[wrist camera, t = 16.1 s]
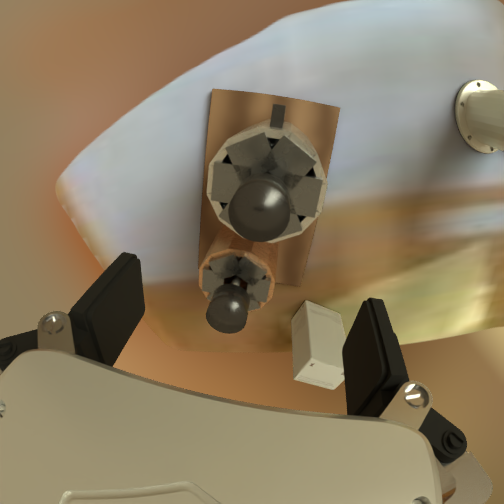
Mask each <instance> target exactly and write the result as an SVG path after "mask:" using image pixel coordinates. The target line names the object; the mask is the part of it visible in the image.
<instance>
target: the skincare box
mask: <svg viewBox="0 0 504 504" xmlns="http://www.w3.org/2000/svg"><path fill="white" fill-rule="evenodd" d="M291 327H292V351H293V379H294V380H298V381H301V382H305V383H309V384H313V385H316V386H320V387H324V388H328V389H332V390H334V389H335V388H336V387H337V386H338V385H339V384H340V383H341V382H342V381H343V380H345V378H344V368H343V358H342V348H343V345H344V343H345V341H346V336H345V332H344V327H343V323H342V319H341V315H340V313H337V312H335V311H332V310H330V309H327V308H325V307H322V306H320V305H317V304H315V303H312V302H310V301H307V300H305V302H304V303H303V304H302V306H301V307H300V309H299V310H298V311H297V313H296V314H295V315H294V317H293V318H292V320H291Z"/></svg>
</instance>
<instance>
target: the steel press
mask: <svg viewBox="0 0 504 504" xmlns="http://www.w3.org/2000/svg"><path fill="white" fill-rule="evenodd" d="M285 111H286V105H280V104H273V107H272V114H271V119H268V120H265V121H262V122H259V123H257V124H254V125H252V126H249V127H248V128H246V129H244V130H242V131H241V132H239V133H237V134H235V135H234V136H232V137H230V138H229V139H227V141H226V142H225V143H224V145H223V146H222V147H221V149H220V150H219V151H218V153H217V154H216V155H215V157H214V158H213V159H212V161H211V162H210V164H209V170H208V182H207V196H208V198H209V200H210V202H211V204H212V206H213V209H214V211H215V213H216V215H217V217H218V219H219V220H220V221H221V222H222V223H223V224H225V225H226V226H227V227H229V228H230V229H231V230H233V231H234V232H235V233H237V232H236V231H235V230H234V228H233V227H232V225H231V223H230V220H229V215H228V209H229V204H230V202H231V199H232V198H233V196H234V194H235V192H236V191H237V189H238V187H239V186H240V184H241V183H242V181H243V180H244V179H246V178H247V177H249V176H250V175H253V174H256V173H265V172H270V173H271V174H272V175H275V176H276V177H278V178H280V179H281V180H282V181H283V182H284V183H285V185H286V186H287V188H288V190H289V194H290V220H289V223H288V226H287V228H286V229H285V231H284V232H283V233H282V234H281V235H280V236H278V237H277V238H275V239H273V240H271V241H267V242H269V243H274V242H278V241H281V240H284V239H287V238H290V237H294V236H297V235H300V234H301V233H302V232H303V231H304V230H305V229H306V228H307V227H308V226H309V225H310V224H311V223H312V222H313V221H314V220H315V219H316V218H317V217H318V216H319V215H320V214H321V211H322V207H323V203H324V198H325V194H326V189H327V185H328V183H327V180H326V177H325V174H324V171H323V168H322V165H321V162H320V159H319V157H318V154H317V152H316V150H315V149H314V147H313V145H312V143H311V142H310V140H309V138H308V137H307V136H306V135H305V134H304V133H303V132H302V131H301V130H299V129H298V128H297V127H295V126H294V125H293V124H292V123H290V122H285V121H284V118H285ZM267 137H270V138H276V139H280V140H279V141H278V142H277V143H276V145H275V146H274V147H273V148H271V146H270V143H269V141H268V138H267ZM237 234H238V233H237ZM238 235H239V234H238ZM241 237H242V236H241ZM242 238H243V237H242Z"/></svg>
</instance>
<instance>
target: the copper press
mask: <svg viewBox="0 0 504 504" xmlns="http://www.w3.org/2000/svg"><path fill="white" fill-rule="evenodd" d="M278 246H279V241H278V242H274V243H269V242H254V241H250V240H247V239H245V238H242V237H241V236H240V235H238V234H237V233H235V232H234V231H233V230H231V229H230V228H229V227H227V226H226V225H225V224H223V226H222V227H221V229H220V230H219V231H218V233H217V235H216V237H215V239H214V241H213V243H212V245H211V247H210V248H209V250H208V252H207V254H206V256H205V258H204V260H203V262H202V264H201V266H200V268H199V286H200V288H201V290H202V291H203V293H204V295H205V297H206V299H207V300H208V301H211V299H212V296H213V293H214V291H215V290H216V288H218V287H219V286H221V285H224V284H232V281H233V278H234V275H237V276H239V277H240V278H241V282H240V287H242V288H243V289H244V290H245V291H246V292H247V293H248V295H249V297H250V305H249V310H248V312H252V311H256V310H259V309H261V308H262V307H263V306H264V305H265V304H266V303H267V302H268V301H269V300H270V299H272V295H273V291H274V286H275V280H276V269H277V258H278ZM237 256H240V257H242V258H241V259H240V260H238V258H237Z"/></svg>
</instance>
